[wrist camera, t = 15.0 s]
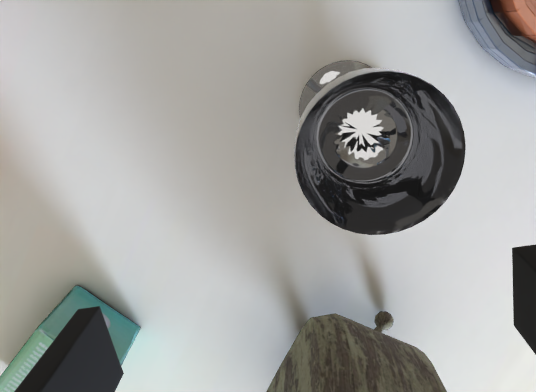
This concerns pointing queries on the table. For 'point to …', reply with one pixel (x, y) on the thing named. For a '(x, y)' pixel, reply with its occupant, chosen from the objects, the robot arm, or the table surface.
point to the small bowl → (518, 18)
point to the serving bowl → (498, 37)
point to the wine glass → (376, 147)
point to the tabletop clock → (353, 360)
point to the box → (45, 334)
